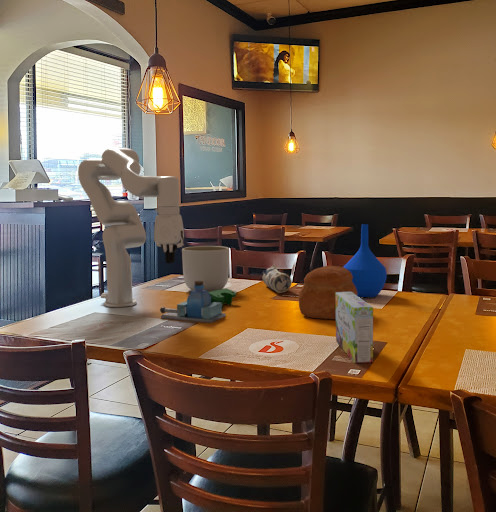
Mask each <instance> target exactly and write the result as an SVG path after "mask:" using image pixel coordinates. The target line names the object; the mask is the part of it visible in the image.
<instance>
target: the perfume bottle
mask: <svg viewBox="0 0 496 512" xmlns="http://www.w3.org/2000/svg"><path fill="white" fill-rule="evenodd" d="M194 282H195V285H194V288H195V290H194V291H192V290H190V293H189V294H188V296H187V298H186V299H187V300H186V301H187V313H188V316H192V317H202V307H204V306H206V305H208V304H211V296H210V294H209V293H208V291H207V290H203V288H204V285H203V281H194Z"/></svg>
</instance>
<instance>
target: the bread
mask: <svg viewBox="0 0 496 512" xmlns="http://www.w3.org/2000/svg"><path fill="white" fill-rule="evenodd" d="M352 279H353V276H352V274H351V272H350V271H349V270H347V269H346V268H344V266H340V265H339V266H338V265H324V266H322V267H317V268H314V269H313V270H311V271H310V272H307V274H306V275H305V277H304V278H303V286H302V288H301V289H300V291H299V294H298V307H299V310H300V311H299V312H300V313H301V315H302V316H305V317H308V318H314V319H321V320H336V302H335V293H336V292H353V293H354V294H355V295H357V290H356V287H355V285H354V284H353V282H352Z"/></svg>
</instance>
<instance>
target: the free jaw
mask: <svg viewBox="0 0 496 512" xmlns="http://www.w3.org/2000/svg"><path fill="white" fill-rule="evenodd" d="M159 312H160V313H161V314H166V313H177V316H187V315H188V313H187V300H185V301H182V302H179V303H178V304H176V308H166V307H165V306H162V307H160V309H159Z"/></svg>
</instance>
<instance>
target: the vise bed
mask: <svg viewBox="0 0 496 512" xmlns="http://www.w3.org/2000/svg"><path fill="white" fill-rule="evenodd" d="M222 310H223V307H222V303H219V302H213V303H211V304H208V305H206V306H204V307H202V317H192V316H188V315H187V316H177V313H167V312H165V313H162V314H161V315H160V318H161V319H167V320H175V321H176V320H177V321H189V322H196V323H197V322H198V323H208V324H209V323H210V324H213V323H214V322H216V321H218V320H219V321H220V320H221V319H223V318H225V317H226V313H225V312H223V311H222Z"/></svg>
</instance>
